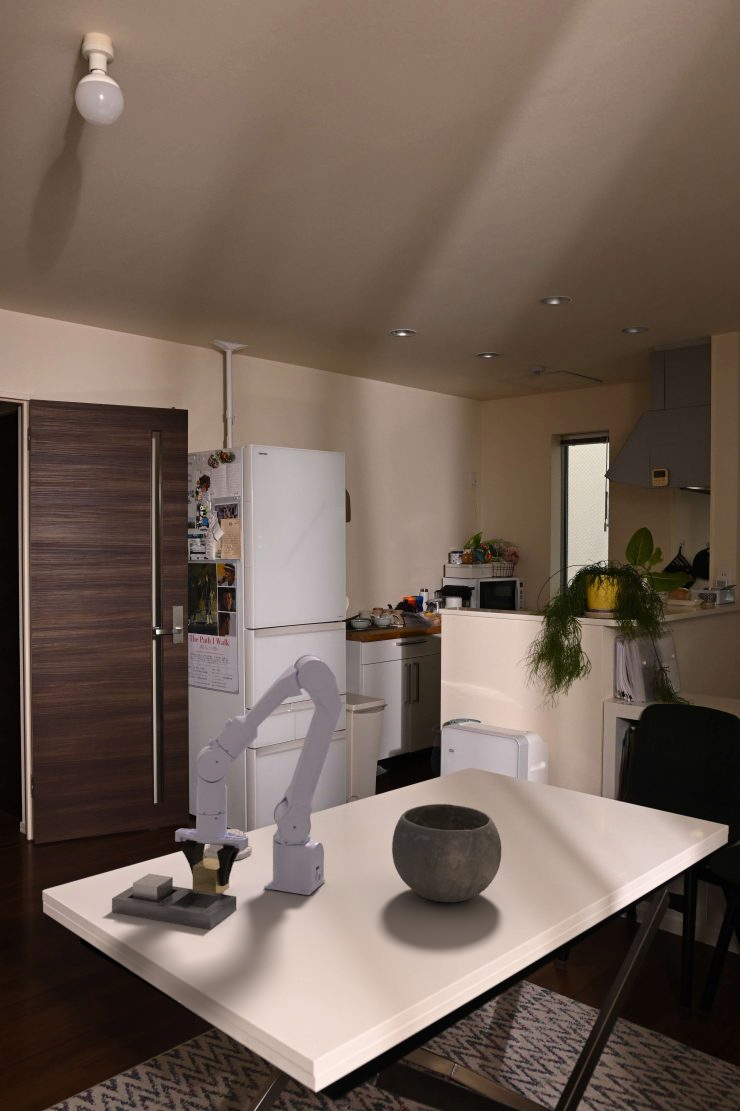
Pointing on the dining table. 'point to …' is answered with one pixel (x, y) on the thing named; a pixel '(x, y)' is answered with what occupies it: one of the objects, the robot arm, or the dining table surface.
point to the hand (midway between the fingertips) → (211, 882)
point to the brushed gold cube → (208, 876)
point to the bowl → (446, 851)
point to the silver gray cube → (153, 888)
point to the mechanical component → (211, 850)
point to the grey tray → (179, 907)
